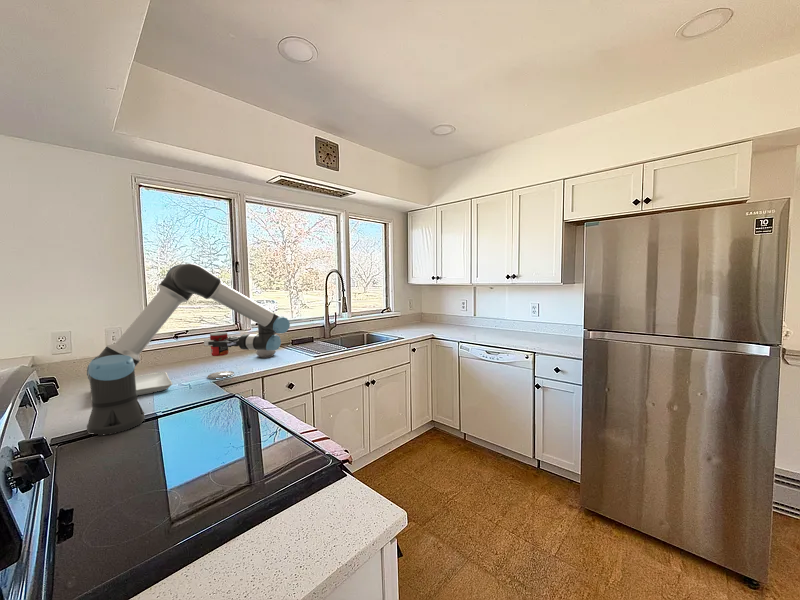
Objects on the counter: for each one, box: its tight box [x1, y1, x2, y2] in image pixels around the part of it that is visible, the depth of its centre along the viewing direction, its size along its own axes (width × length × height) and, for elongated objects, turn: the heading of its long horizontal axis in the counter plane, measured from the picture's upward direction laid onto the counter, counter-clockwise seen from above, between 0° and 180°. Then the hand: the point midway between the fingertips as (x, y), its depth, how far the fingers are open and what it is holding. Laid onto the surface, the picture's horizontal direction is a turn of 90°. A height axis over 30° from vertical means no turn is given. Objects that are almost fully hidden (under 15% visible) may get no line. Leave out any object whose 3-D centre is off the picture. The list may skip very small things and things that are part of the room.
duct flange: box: [207, 370, 235, 380], centre depth 173 cm, size 12×12×1 cm
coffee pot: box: [255, 350, 277, 359], centre depth 210 cm, size 21×12×15 cm, turn 41°
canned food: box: [209, 331, 229, 357], centre depth 172 cm, size 8×8×11 cm
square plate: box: [90, 371, 173, 402], centre depth 153 cm, size 27×27×4 cm
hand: (211, 341), depth 173 cm, fingers closed on canned food, 8 cm apart
